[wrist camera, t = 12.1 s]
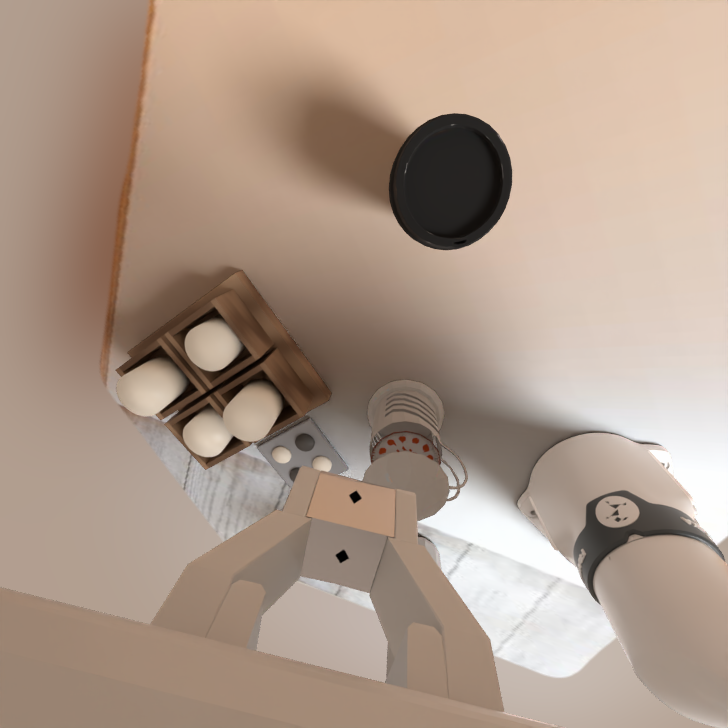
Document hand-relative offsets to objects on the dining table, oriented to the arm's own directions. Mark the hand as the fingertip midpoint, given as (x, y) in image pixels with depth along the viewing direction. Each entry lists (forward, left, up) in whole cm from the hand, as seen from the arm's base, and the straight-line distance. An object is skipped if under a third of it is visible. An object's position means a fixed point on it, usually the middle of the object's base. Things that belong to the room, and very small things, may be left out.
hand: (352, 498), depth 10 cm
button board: (+1, +23, -34) cm, 41 cm away
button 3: (-3, +19, -29) cm, 35 cm away
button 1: (+5, +19, -32) cm, 37 cm away
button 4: (-3, +27, -32) cm, 42 cm away
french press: (-16, +7, -34) cm, 38 cm away
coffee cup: (+5, -8, -34) cm, 36 cm away
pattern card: (-14, +23, -34) cm, 43 cm away
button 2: (+5, +27, -29) cm, 40 cm away
